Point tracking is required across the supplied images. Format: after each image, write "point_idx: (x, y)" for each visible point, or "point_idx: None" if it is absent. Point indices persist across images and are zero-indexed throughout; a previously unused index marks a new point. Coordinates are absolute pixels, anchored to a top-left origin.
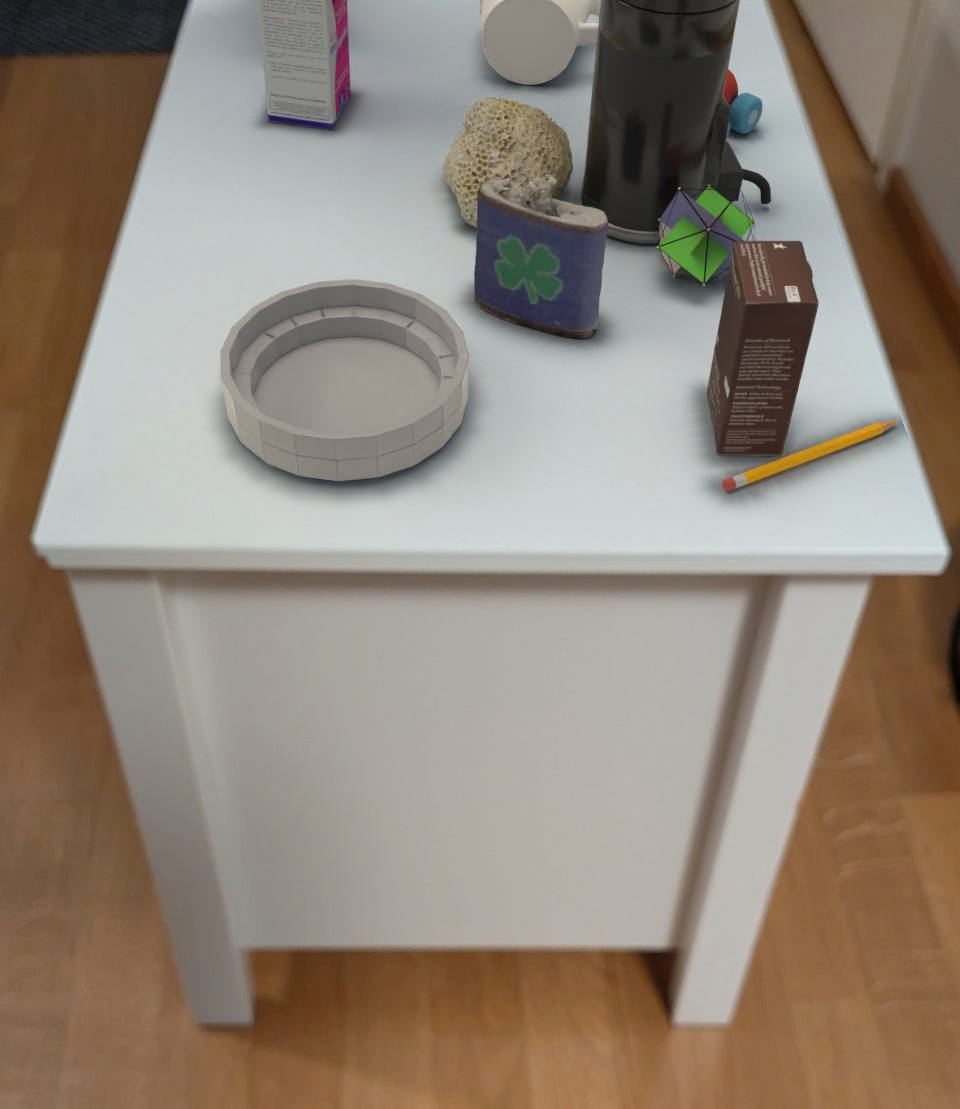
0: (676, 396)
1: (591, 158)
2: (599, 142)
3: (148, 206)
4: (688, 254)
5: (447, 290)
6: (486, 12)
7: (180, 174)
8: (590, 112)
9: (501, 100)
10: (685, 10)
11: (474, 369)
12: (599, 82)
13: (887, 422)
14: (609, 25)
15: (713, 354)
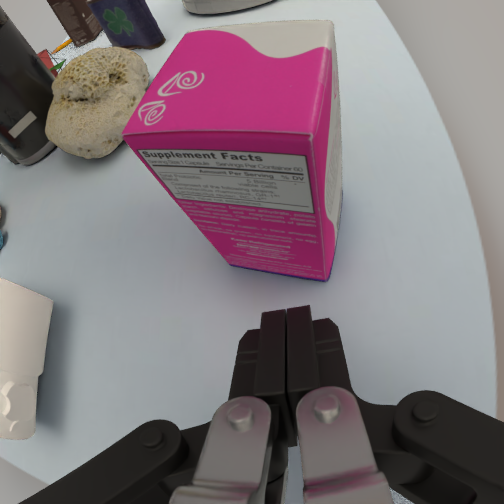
0: (105, 35)
1: (52, 82)
2: (45, 67)
3: (411, 71)
4: (56, 67)
5: (178, 42)
6: (9, 298)
7: (406, 104)
8: (33, 72)
9: (71, 73)
10: None
11: (178, 15)
12: (22, 43)
13: (54, 50)
14: (3, 13)
15: (86, 23)
